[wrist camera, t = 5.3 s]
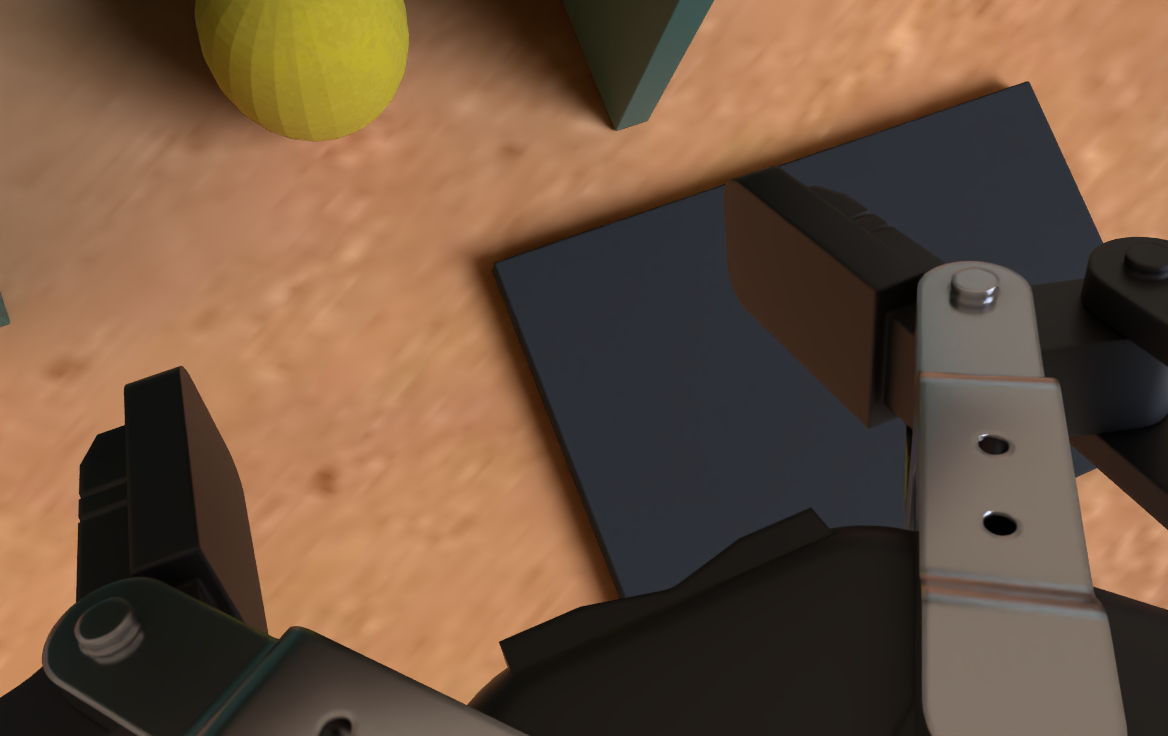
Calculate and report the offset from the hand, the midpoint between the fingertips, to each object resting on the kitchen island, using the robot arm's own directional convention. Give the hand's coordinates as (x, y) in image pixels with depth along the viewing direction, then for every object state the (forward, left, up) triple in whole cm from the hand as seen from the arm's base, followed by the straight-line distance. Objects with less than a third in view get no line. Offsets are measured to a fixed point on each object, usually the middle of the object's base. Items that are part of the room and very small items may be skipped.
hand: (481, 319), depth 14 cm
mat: (-13, +2, -16) cm, 21 cm away
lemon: (0, -11, -16) cm, 20 cm away
